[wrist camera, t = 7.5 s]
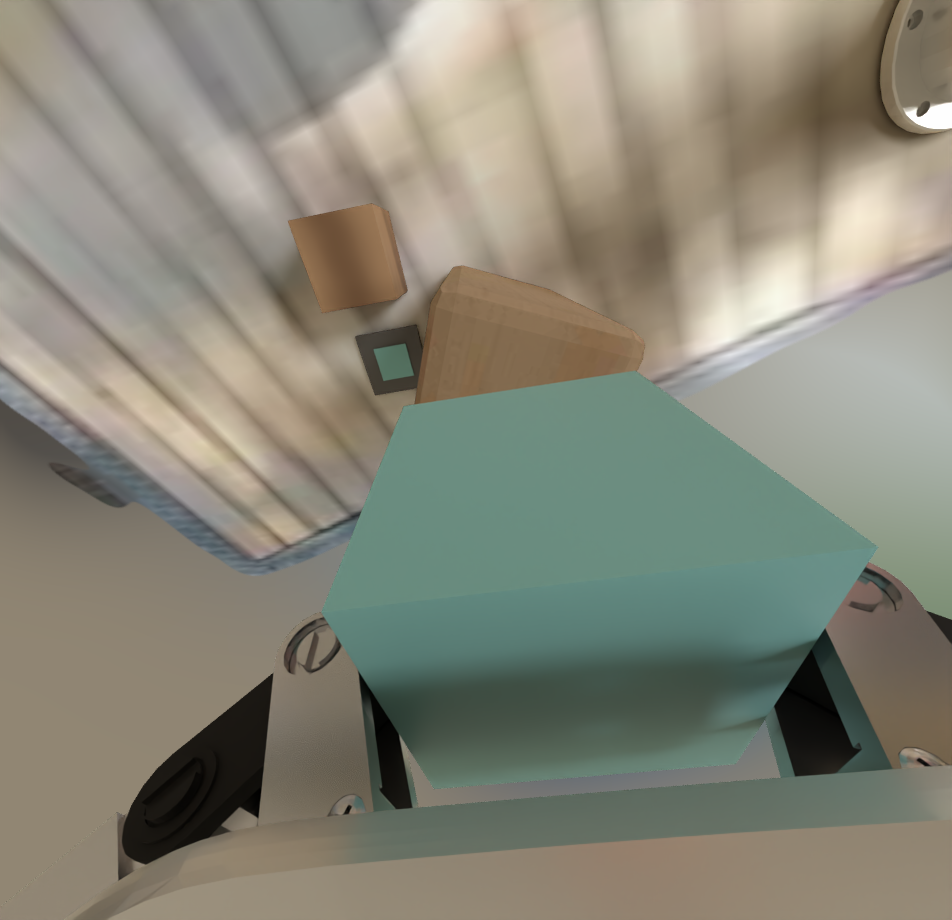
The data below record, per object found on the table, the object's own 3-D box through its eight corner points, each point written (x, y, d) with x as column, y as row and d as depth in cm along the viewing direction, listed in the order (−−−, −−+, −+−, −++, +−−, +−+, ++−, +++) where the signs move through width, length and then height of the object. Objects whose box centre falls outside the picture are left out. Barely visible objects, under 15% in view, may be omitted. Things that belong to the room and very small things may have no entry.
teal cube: (635, 370, 9) (878, 546, 4) (619, 540, 12) (735, 764, 7) (403, 406, 9) (321, 612, 4) (447, 562, 12) (434, 789, 7)
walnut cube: (388, 211, 28) (371, 203, 23) (407, 290, 31) (396, 299, 26) (319, 225, 29) (287, 220, 24) (345, 302, 32) (322, 313, 27)
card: (416, 325, 33) (415, 326, 32) (431, 384, 36) (430, 386, 36) (356, 336, 33) (354, 337, 33) (376, 393, 36) (374, 395, 36)
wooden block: (432, 370, 35) (400, 484, 18) (451, 261, 30) (432, 279, 13) (524, 391, 37) (574, 514, 20) (557, 291, 32) (662, 340, 15)
